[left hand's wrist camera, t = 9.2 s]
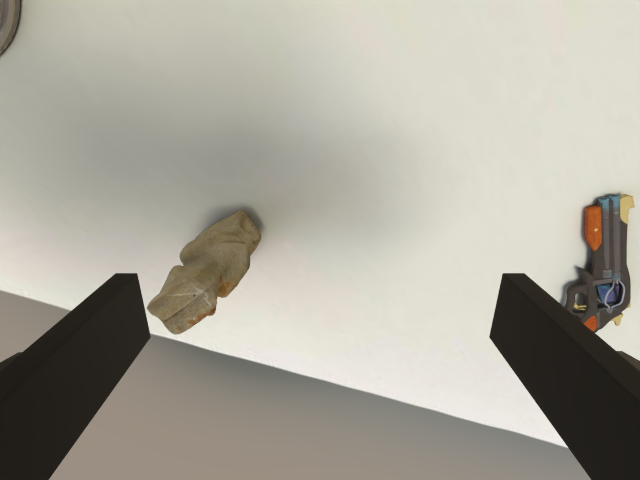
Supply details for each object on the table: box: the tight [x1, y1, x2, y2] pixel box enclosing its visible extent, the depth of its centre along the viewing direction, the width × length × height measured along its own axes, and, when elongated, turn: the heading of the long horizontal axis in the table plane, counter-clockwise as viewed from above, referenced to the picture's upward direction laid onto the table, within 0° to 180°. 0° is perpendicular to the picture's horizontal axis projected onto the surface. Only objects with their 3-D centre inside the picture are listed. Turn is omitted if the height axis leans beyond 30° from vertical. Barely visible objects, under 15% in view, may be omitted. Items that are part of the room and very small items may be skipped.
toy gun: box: [564, 194, 634, 333], centre depth 41 cm, size 3×19×10 cm
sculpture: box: [147, 210, 261, 334], centre depth 33 cm, size 6×7×15 cm
